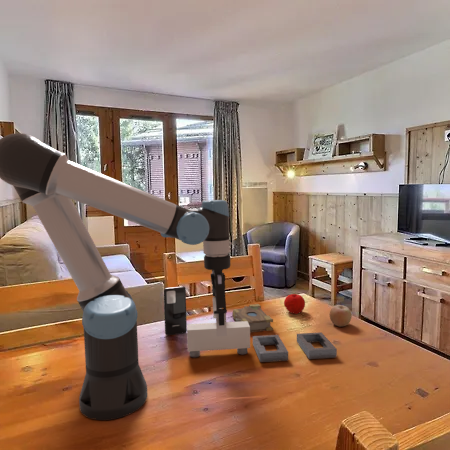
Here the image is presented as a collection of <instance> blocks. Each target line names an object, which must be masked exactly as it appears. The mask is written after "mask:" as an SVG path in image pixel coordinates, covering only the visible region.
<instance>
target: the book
mask: <svg viewBox="0 0 450 450" xmlns="http://www.w3.org/2000/svg"><path fill="white" fill-rule="evenodd" d="M261 307H262V306H261V305H260V304H259V303H255V304H249V305H248V306H247V305H244V307H242V308H233V309H232V314H231V315H232V318H233V321H234V322H241V321H248V323H249V326H250V334H251V333H258V332H264V331H266V332H269V331H270V332H271V331H274V327H273V326H271V323H273V322H274V319H273V318H272V317H271V316H270V315H267V314H266V313H265V311H264V310H263V309H262V308H261Z"/></svg>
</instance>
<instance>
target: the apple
mask: <svg viewBox="0 0 450 450" xmlns="http://www.w3.org/2000/svg"><path fill="white" fill-rule="evenodd" d="M283 304H284V307H285V309H286V310H287V312H288V313H290V314H294V315H297V314H300V313H302V312H304V310H305V307H306V301H305V298H304V297H303V296H302V295H300V294H297V293H292V294H288V295H287V296H286V297H285V298H284V300H283Z"/></svg>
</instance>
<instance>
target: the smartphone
mask: <svg viewBox="0 0 450 450" xmlns="http://www.w3.org/2000/svg"><path fill="white" fill-rule="evenodd" d="M186 292H187V291H186V286H173V287H165V288H164V289H163V309H164V312H163V313H164V314H163V315H164V334H165V335H166V336H172V335H173V336H174V335H180V334H181V335H182V334H187V324H188V322H187V321H188V320H187V293H186Z"/></svg>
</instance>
